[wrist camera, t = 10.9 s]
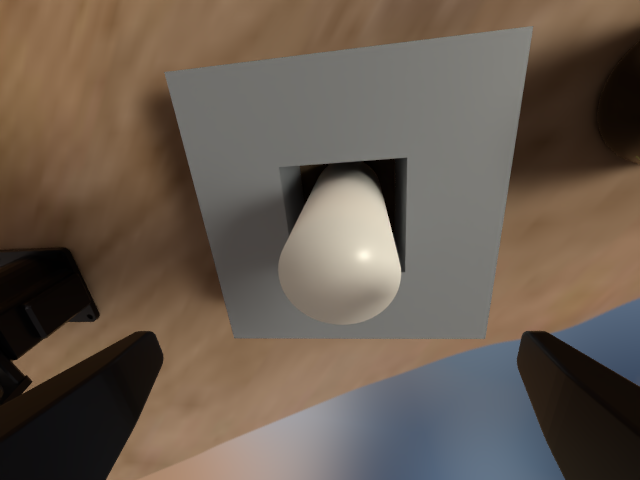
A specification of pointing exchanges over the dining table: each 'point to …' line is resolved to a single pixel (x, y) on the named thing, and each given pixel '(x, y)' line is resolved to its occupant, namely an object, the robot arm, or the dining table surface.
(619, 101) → the supplement bottle
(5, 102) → the dining table surface
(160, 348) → the robot arm
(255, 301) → the socket block
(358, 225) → the peg
